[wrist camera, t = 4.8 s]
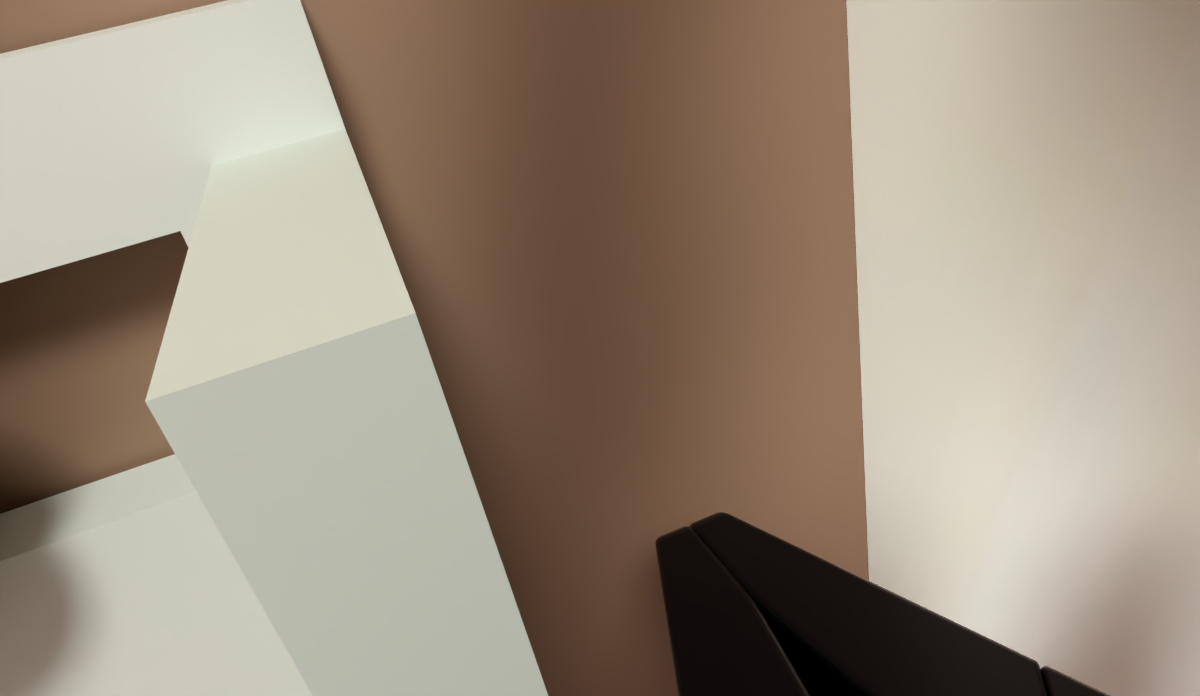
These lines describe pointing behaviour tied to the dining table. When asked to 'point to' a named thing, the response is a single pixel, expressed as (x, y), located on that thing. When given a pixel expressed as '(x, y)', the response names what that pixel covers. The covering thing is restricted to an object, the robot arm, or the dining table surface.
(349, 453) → the panel
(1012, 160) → the dining table surface
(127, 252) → the board
